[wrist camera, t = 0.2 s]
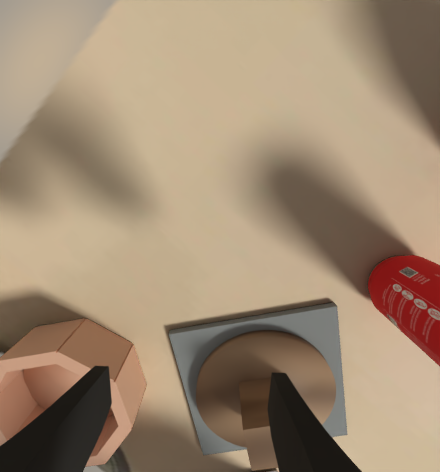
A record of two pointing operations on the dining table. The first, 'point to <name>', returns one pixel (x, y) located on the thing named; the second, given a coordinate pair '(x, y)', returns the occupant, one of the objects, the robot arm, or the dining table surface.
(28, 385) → the bowl
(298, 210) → the dining table surface
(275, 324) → the mat
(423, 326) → the beverage can
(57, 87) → the dining table surface
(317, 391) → the brown disc
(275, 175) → the dining table surface
